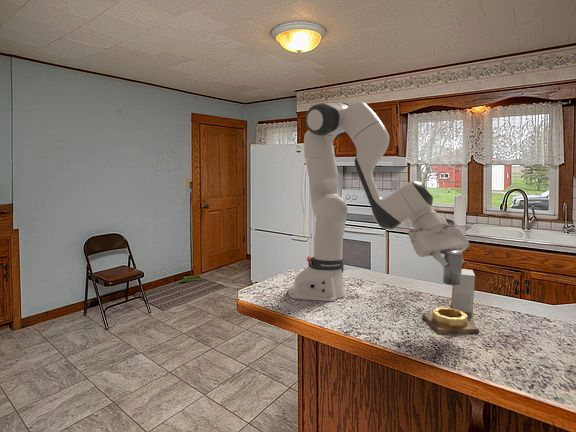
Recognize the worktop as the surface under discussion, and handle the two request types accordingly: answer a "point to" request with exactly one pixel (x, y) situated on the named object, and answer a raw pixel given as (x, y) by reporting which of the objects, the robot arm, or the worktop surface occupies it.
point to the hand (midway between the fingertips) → (454, 264)
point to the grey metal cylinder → (453, 267)
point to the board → (445, 329)
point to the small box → (464, 292)
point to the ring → (444, 316)
